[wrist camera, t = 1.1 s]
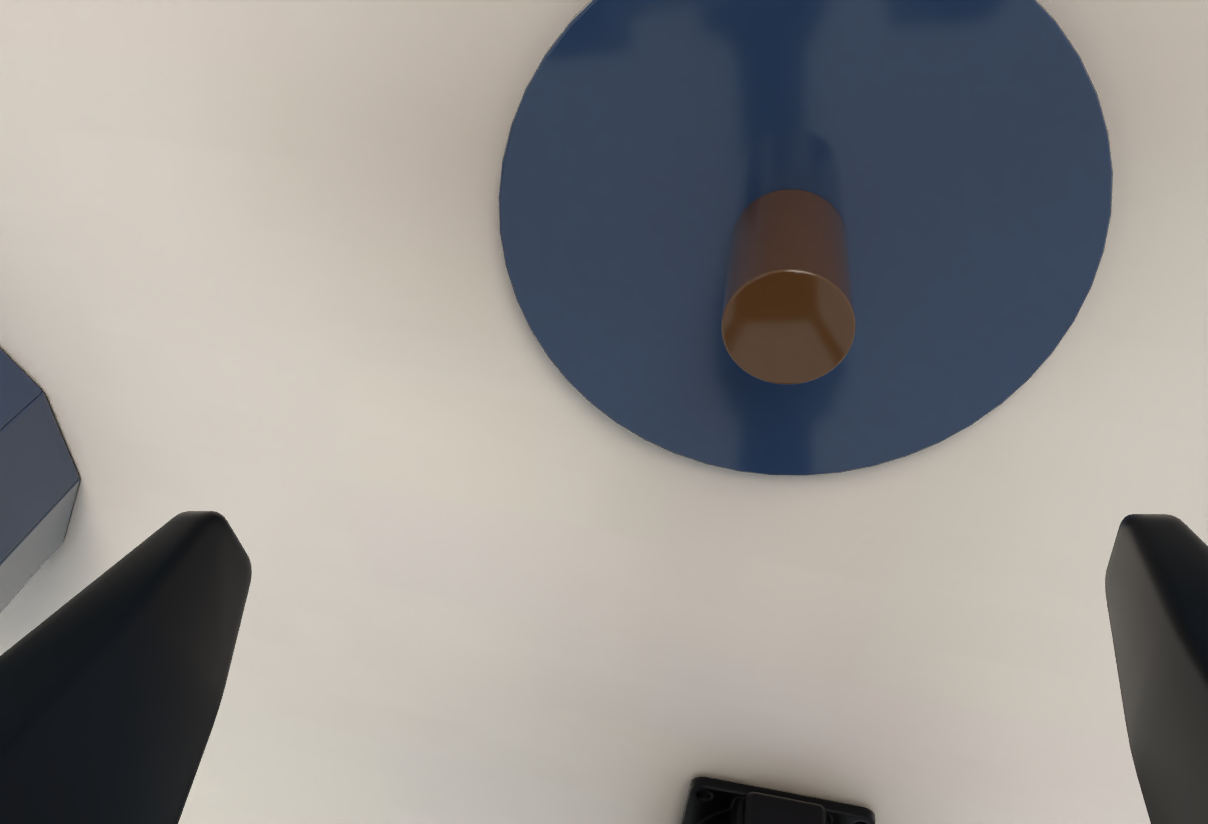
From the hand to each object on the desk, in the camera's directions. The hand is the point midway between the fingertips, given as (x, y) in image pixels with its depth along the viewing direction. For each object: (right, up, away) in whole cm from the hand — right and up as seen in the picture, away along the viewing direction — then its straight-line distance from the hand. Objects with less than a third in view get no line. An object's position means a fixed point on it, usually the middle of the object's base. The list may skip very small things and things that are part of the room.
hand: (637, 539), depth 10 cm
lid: (+4, +6, +13) cm, 15 cm away
